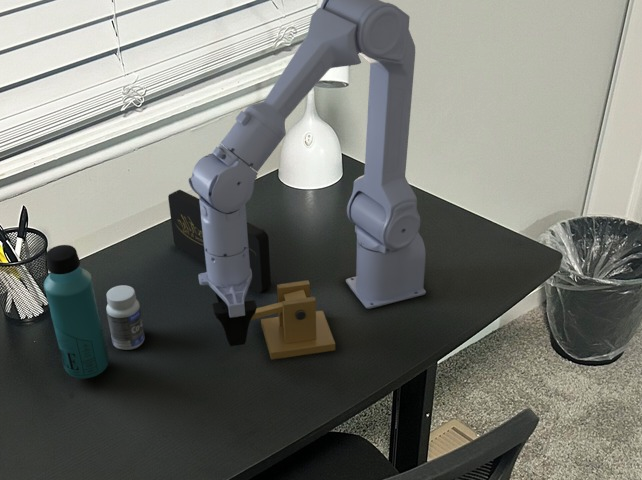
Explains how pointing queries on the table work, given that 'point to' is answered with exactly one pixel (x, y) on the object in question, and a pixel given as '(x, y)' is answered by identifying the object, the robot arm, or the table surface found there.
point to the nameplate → (191, 241)
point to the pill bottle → (124, 318)
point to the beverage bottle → (75, 314)
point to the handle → (277, 305)
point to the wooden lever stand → (297, 325)
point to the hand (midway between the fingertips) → (233, 329)
